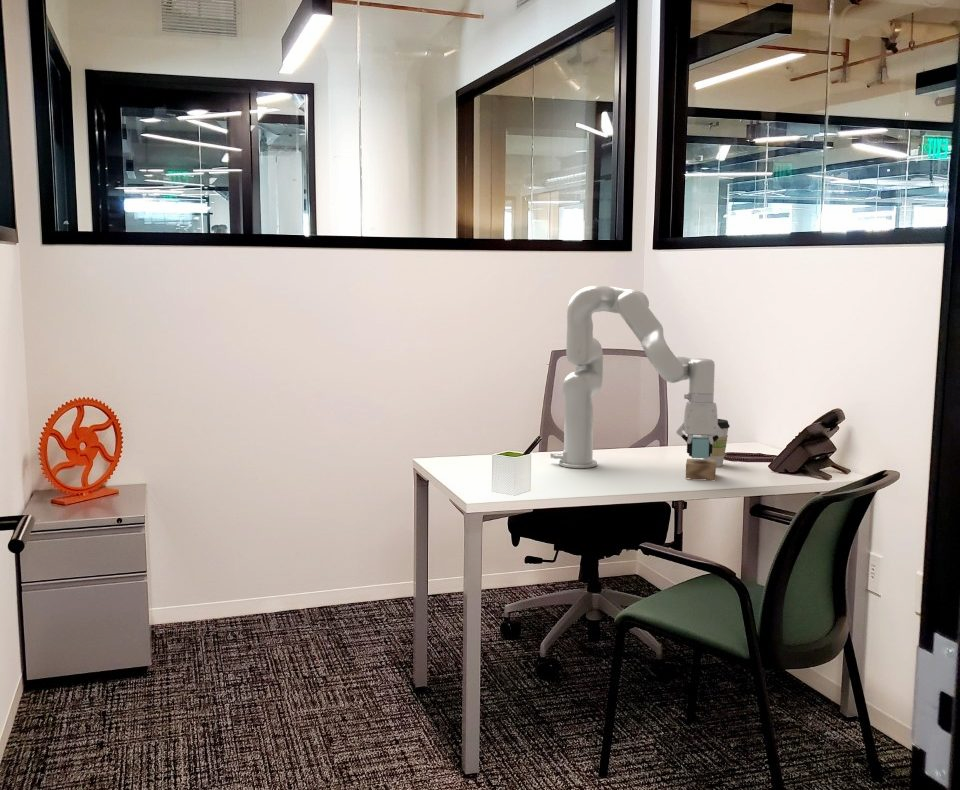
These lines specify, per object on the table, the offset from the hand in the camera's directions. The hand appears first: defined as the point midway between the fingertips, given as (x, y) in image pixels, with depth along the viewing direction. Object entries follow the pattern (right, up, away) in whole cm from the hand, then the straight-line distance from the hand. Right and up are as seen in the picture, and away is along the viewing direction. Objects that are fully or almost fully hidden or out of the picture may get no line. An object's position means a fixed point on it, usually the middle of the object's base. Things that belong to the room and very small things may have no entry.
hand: (699, 455), depth 291 cm
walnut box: (+1, -7, +1) cm, 7 cm away
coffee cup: (+9, -5, +19) cm, 21 cm away
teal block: (0, -1, 0) cm, 1 cm away
